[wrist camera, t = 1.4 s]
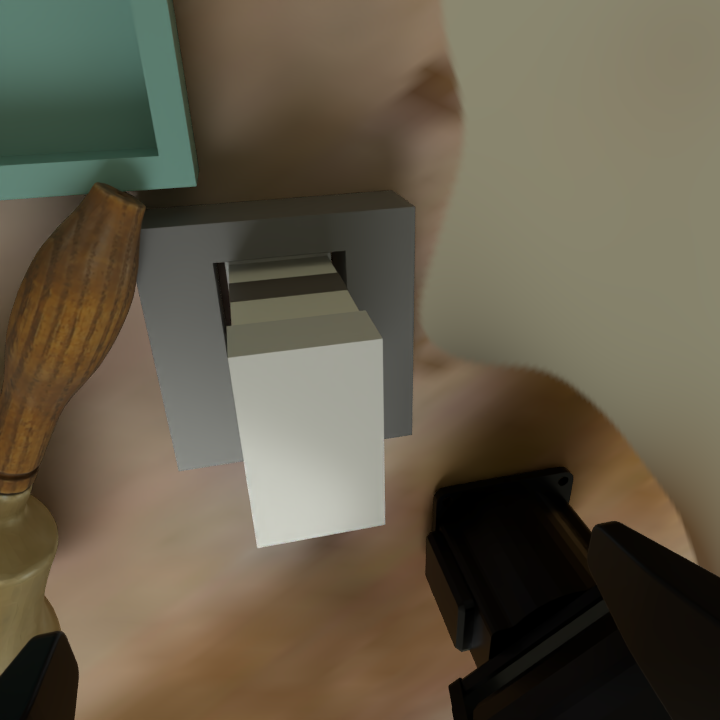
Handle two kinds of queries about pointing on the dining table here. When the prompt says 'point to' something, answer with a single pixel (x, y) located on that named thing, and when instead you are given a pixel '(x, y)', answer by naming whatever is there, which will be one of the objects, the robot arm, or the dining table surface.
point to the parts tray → (92, 98)
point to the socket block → (255, 241)
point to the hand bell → (55, 384)
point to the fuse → (306, 398)
